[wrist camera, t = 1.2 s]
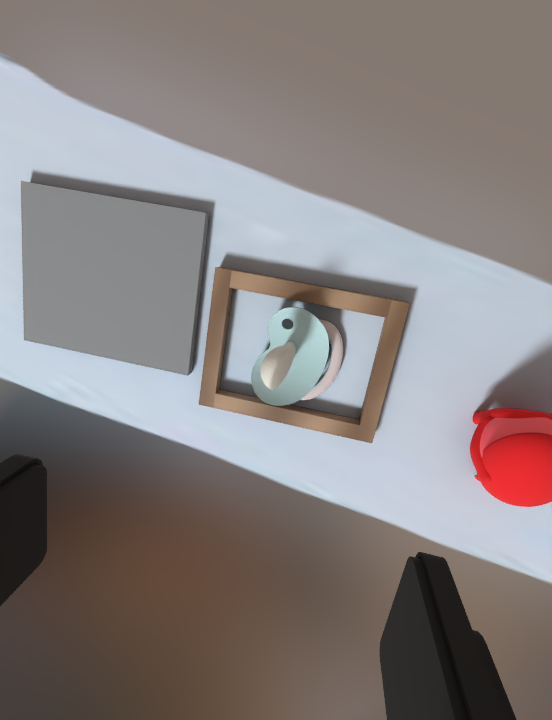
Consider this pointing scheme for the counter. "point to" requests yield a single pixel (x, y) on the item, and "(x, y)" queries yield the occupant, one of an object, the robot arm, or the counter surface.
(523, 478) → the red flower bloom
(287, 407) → the pocket frame
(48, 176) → the counter surface
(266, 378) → the pacifier
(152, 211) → the slate mat
